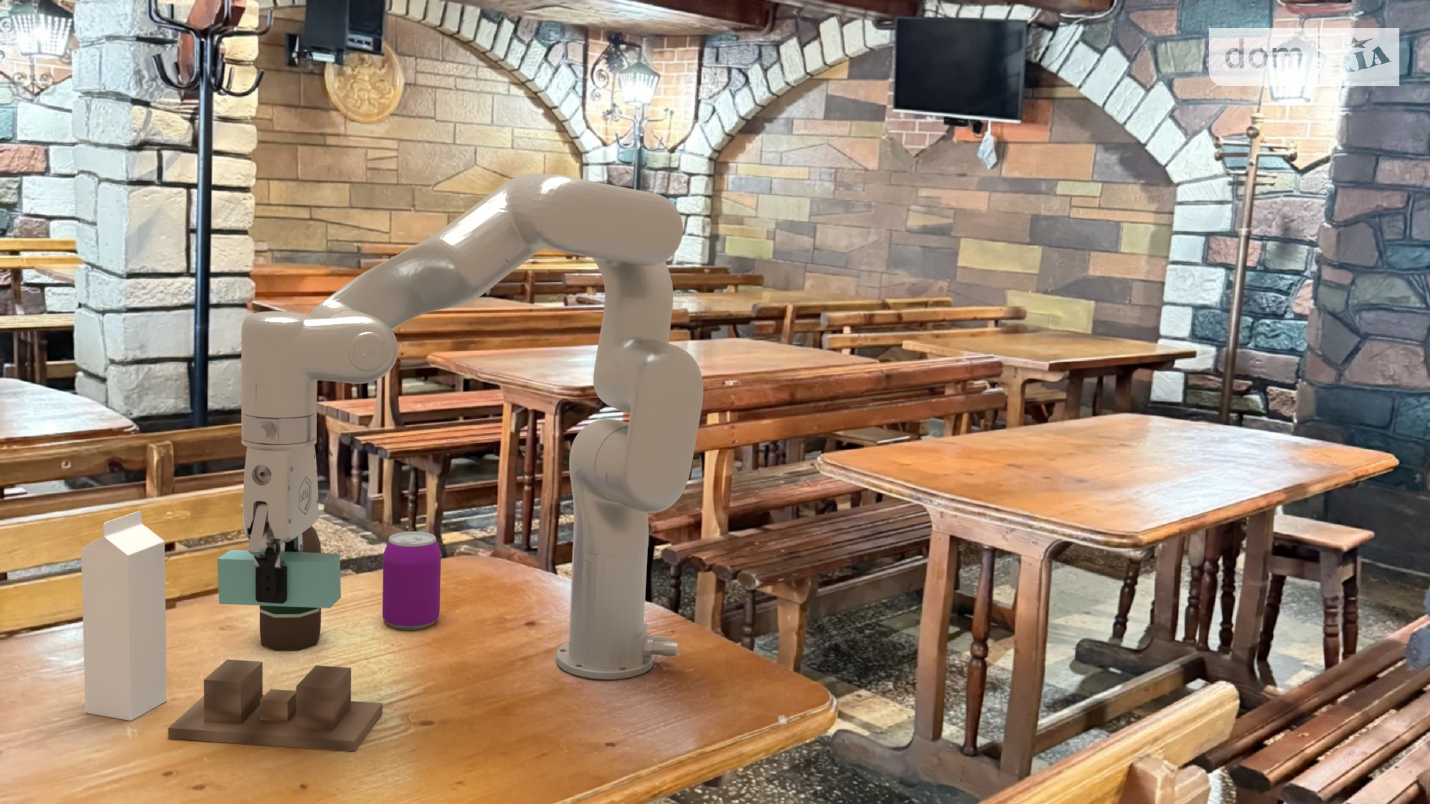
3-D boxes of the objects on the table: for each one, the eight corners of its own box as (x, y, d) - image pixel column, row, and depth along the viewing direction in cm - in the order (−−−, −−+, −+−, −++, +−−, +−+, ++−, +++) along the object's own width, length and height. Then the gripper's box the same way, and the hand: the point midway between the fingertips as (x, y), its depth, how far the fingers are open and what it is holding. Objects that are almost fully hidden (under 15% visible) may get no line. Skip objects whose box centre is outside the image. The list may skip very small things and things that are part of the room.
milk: (84, 713, 138) (77, 520, 135) (123, 693, 144) (117, 507, 141) (132, 721, 137) (126, 526, 133) (169, 700, 143) (164, 512, 139)
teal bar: (340, 597, 137) (339, 553, 137) (330, 608, 134) (328, 562, 133) (232, 593, 138) (230, 549, 137) (219, 604, 134) (217, 558, 133)
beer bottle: (302, 655, 158) (303, 469, 155) (246, 647, 160) (246, 463, 156) (333, 635, 166) (334, 457, 162) (279, 627, 167) (279, 451, 164)
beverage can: (414, 609, 178) (415, 526, 176) (451, 622, 173) (453, 538, 171) (370, 622, 172) (371, 537, 170) (407, 635, 167) (409, 548, 165)
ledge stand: (382, 713, 143) (383, 663, 142) (354, 751, 133) (355, 697, 132) (208, 701, 143) (208, 651, 142) (168, 738, 133) (167, 685, 132)
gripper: (285, 447, 124) (284, 624, 127) (340, 418, 141) (338, 575, 144) (210, 442, 125) (211, 618, 128) (274, 413, 141) (273, 571, 144)
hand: (278, 594), depth 136 cm, fingers closed on teal bar, 3 cm apart
